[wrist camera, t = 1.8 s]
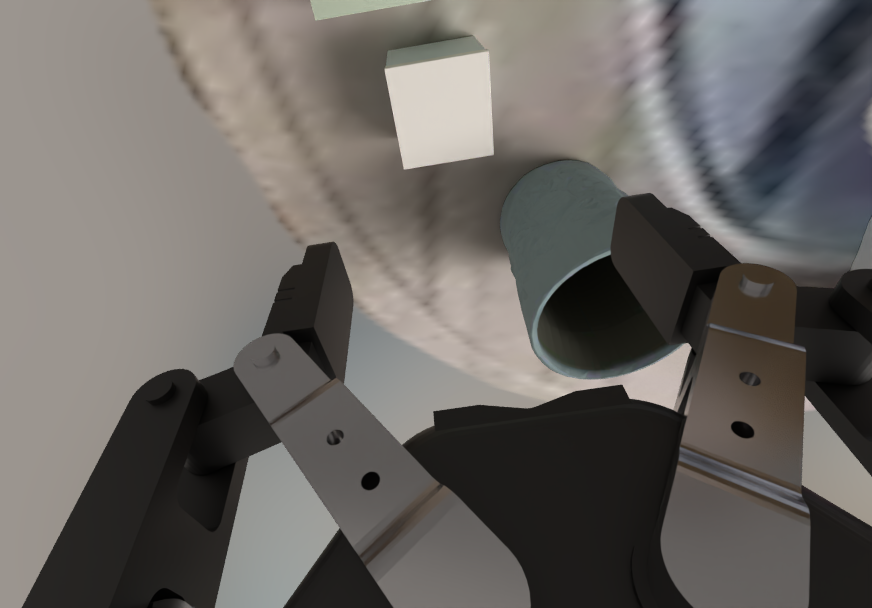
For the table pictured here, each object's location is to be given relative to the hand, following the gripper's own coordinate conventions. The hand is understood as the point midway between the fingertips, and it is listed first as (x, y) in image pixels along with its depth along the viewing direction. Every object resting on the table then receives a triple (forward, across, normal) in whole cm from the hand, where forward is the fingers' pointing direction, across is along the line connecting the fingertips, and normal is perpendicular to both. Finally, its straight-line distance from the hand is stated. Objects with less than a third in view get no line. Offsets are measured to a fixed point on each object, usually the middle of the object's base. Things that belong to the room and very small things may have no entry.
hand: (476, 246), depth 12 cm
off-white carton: (+18, 0, 0) cm, 18 cm away
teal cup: (+18, -8, +10) cm, 22 cm away
